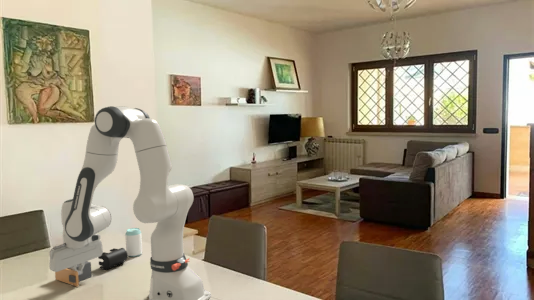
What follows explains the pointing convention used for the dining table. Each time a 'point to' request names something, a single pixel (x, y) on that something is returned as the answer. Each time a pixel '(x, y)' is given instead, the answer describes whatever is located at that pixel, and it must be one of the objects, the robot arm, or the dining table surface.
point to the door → (68, 276)
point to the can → (133, 242)
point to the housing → (84, 271)
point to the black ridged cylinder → (113, 258)
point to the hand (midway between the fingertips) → (78, 274)
